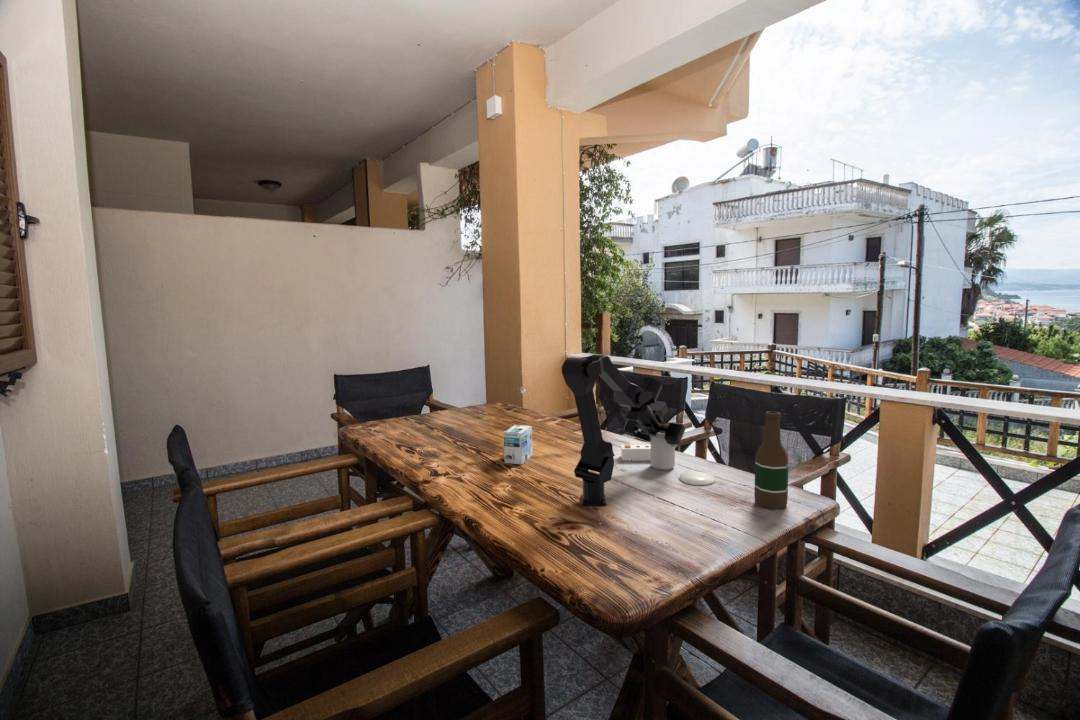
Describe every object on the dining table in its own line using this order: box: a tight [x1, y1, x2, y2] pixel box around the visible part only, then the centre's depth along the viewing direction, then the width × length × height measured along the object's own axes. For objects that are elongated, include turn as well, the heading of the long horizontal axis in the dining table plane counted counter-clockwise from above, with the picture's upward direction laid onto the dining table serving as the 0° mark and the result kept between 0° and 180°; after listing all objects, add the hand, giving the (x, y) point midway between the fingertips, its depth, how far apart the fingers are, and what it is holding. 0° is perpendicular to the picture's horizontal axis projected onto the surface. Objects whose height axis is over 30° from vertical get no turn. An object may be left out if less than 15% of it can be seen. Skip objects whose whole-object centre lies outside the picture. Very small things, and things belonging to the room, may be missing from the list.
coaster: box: [678, 471, 716, 486], centre depth 143 cm, size 10×10×1 cm
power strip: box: [620, 443, 651, 462], centre depth 163 cm, size 5×14×5 cm, turn 86°
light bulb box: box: [503, 424, 534, 465], centre depth 166 cm, size 11×7×11 cm, turn 161°
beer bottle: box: [754, 410, 789, 511], centre depth 123 cm, size 8×8×24 cm
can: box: [650, 432, 676, 471], centre depth 154 cm, size 8×8×12 cm
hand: (663, 443), depth 154 cm, fingers open, 9 cm apart
